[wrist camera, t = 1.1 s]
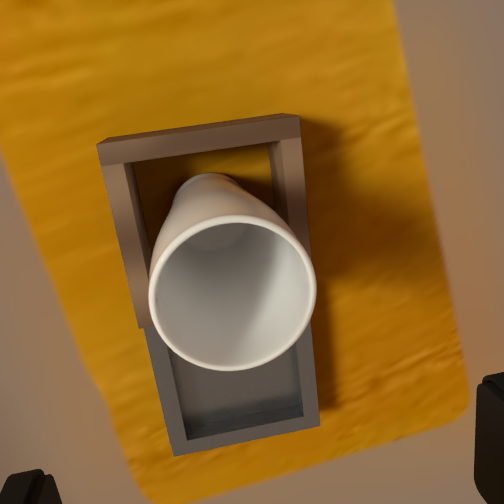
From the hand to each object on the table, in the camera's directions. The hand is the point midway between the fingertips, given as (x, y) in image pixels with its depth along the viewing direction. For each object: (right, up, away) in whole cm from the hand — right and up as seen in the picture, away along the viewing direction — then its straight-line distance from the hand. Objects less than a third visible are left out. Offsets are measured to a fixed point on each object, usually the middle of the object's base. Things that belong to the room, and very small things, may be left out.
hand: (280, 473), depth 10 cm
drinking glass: (-4, +8, +22) cm, 24 cm away
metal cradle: (-2, -4, +26) cm, 26 cm away
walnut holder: (-3, +8, +22) cm, 24 cm away
